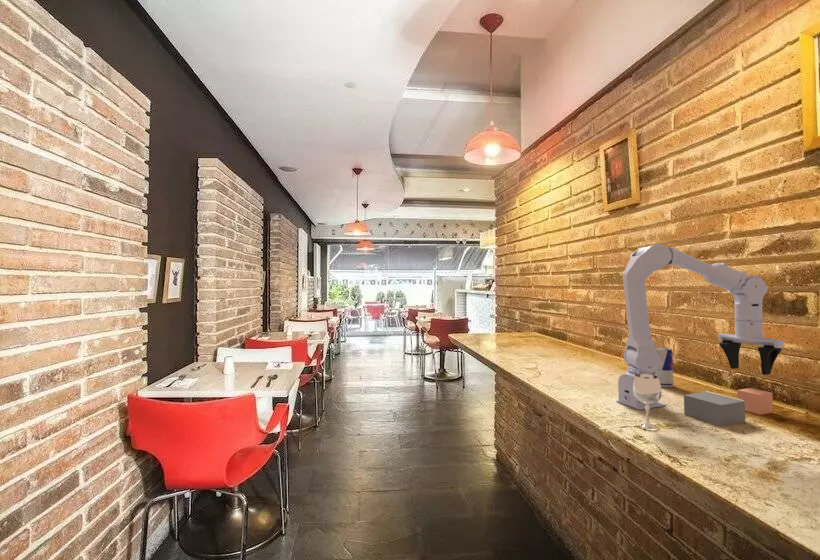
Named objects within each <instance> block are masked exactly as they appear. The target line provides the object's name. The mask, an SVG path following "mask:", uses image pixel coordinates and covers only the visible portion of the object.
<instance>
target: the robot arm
mask: <svg viewBox="0 0 820 560" xmlns="http://www.w3.org/2000/svg"><path fill="white" fill-rule="evenodd" d="M665 266H676V267H679V268H682V269H684V270H687V271H691V272H693V273H696V274H699V275H700V276H703V278H704V280H705V281H706V283H709V284H711V285H713V286H716V287H719V288H721V289H724V290H726V291H728V292H729V293H730V294H731V295H733V297H734V298H733V301H734V303H733V304H734V333H733V334H732V333H718V334H717V336H718V337H717V338H718V340H717V341H719V346H720V347H721V349H722V350H723V353H724V354H725V356H726V359H727V361H728V363H729V367H730V369H732V370H734V369H739V366H740V365H739V364H740V361H739V360H740V358H739V357H740V349H741V346H742V344H747V345H754V346H759V347H757V351H758V353H759V357H760V363H761V364H760V366H761V369H760V370H761V374H762V375H764V376H766V375H767V376H768V375H771V372H772V370H773V366H774V364H775V361H776V360H777V357H778V356H779V354H780V353H781V352H782V349H783V348H784V347H785V345H784V342H785V340H784V339H777V338H771V337H764V326H763V325H764V324H763V323H764V321H763V320H764V319H763V315H764V314H763V301H764V297H765V295H766V294H767V292H768V289H769V286H768V285H766V282H765V280H764V279H763V278H762V277H760V276H758V275H748V273H747V272H746V271H744V270H737V269H735V268H732V267H731V266H729V264H728V263H726V262H715V263H712V264H710V263H707V262H706V261H703V260H701V259H699V258H697V257H694V256H692V255H690V254H687V253H685V252H683V251H682V250H679V249H677V248H675V247H672V246H667V245H666V244H663V243H655V244H652V245H649V246H641V247H638V248H637V249H636V250H634V252H632V253H631V254H630V255H629V260H628V263H627V265H626V266H625V269H624V271H623V272H622V281H623V282H622V283H623V292H624V301H625V310H626V319H627V329H628V338H627V339H626V341H625V345H626V346H625V350H624V352H623V359H624V361H625V363H626V364H628V365H627V367H626V370H627V371H626V372H625V373H623V374H620V376H619V377H618V382H617V383H618V391H617V392H618V399H616V400H615V401H616V402H617V403H620V404H622V405H625V406H629V407H631V408H634V409H637V410H639V411H640V410H645V405H646V404H645V403H642V402H640V401H638V400H637V399H636V398H635V396H634V394H633V383H634V379H635V375H637V374H649V375H655V376H657V371H658V370H659V368H660V366H661V358H660V356H659V355H658V354H657V351H656V344H655V343H654V341H653V339H652V337H651V327H650V317H649V307H648V299H647V298H648V297H647V289H646V288H647V287H646V280H647V279H648V278H649V277H650V276H651V275H652V274H653V273H654V272H656V271H658V270H660V269H662V268H665ZM649 406H650V409H653V408H659V407H666V406H667V404H666V403H664V402H661V401H658V402H656V403H653V404H649Z"/></svg>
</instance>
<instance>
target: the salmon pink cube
mask: <svg viewBox="0 0 820 560" xmlns="http://www.w3.org/2000/svg"><path fill="white" fill-rule="evenodd" d="M736 392H737V394H736V395H737V396H736V399H740V400H744V401H745V412H748V413H751V414H755V415H759V416H761V415H762V416H763V415H767V414H773V413H774V407H773V406H774V405H773V404H774V403H773V402H774V400H773V397H774V396H773V392H769V391H766V390H761V389H756V388H752V387H749V388H742V389H737V390H736Z"/></svg>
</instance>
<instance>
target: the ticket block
mask: <svg viewBox="0 0 820 560" xmlns="http://www.w3.org/2000/svg"><path fill="white" fill-rule="evenodd" d="M683 405H684V406H683V408H684V409H683V410H684V412H683V413H684V415H686V416H688V417H690V418H695V419H697V420H701V421H704V422H706V423H710V424H713V425H716V426H719V427H726V426H729V425H731V426H732V425H736V424H741V423H746V411H745V401H744V400H740V399H737V397H733V396H727V395H724V394H720V393H716V392H712V391H708V390H704V391H702V392H695V393H688V394H683Z"/></svg>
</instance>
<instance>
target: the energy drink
mask: <svg viewBox="0 0 820 560" xmlns="http://www.w3.org/2000/svg"><path fill="white" fill-rule="evenodd" d="M656 351H657V354H658V355H659V356H660V358H661V366H660V368H659V370H658V371H657V377H658V378H659V381H660V385H661V388H668V389H669V388H673V387H674V359H673V358H674V357H673V353H674V351H673V350H672V348H669V347H663V346H662V347H660V346H659V347H658V346H657V347H656Z"/></svg>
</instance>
